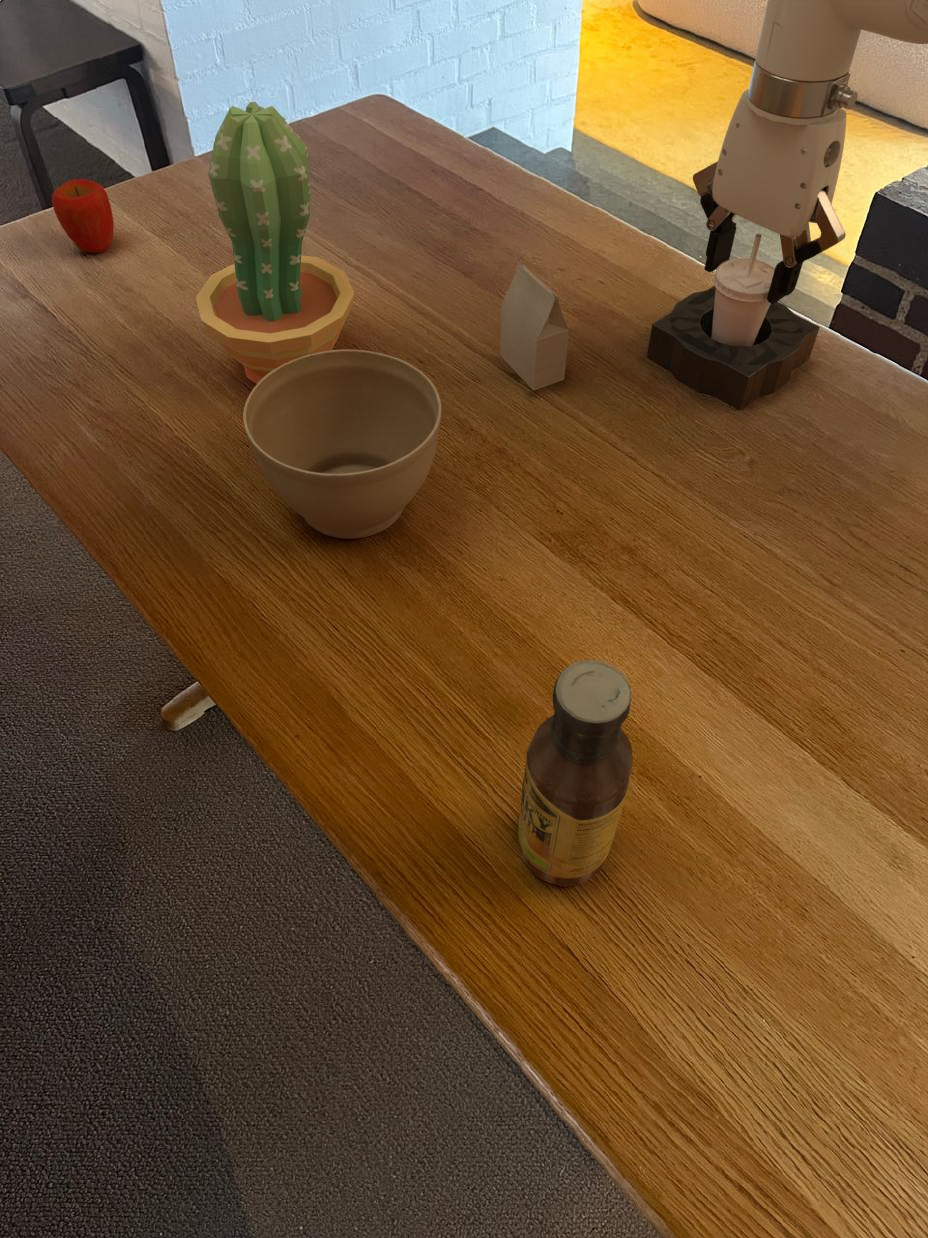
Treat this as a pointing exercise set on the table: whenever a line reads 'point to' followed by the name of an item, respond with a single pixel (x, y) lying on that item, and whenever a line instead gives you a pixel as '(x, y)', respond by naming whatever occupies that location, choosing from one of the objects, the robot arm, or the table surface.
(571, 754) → the sauce bottle
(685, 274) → the table surface
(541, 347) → the gable top carton
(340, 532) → the planter bowl
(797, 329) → the holder plate
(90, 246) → the apple
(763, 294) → the smoothie
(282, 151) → the potted cactus
